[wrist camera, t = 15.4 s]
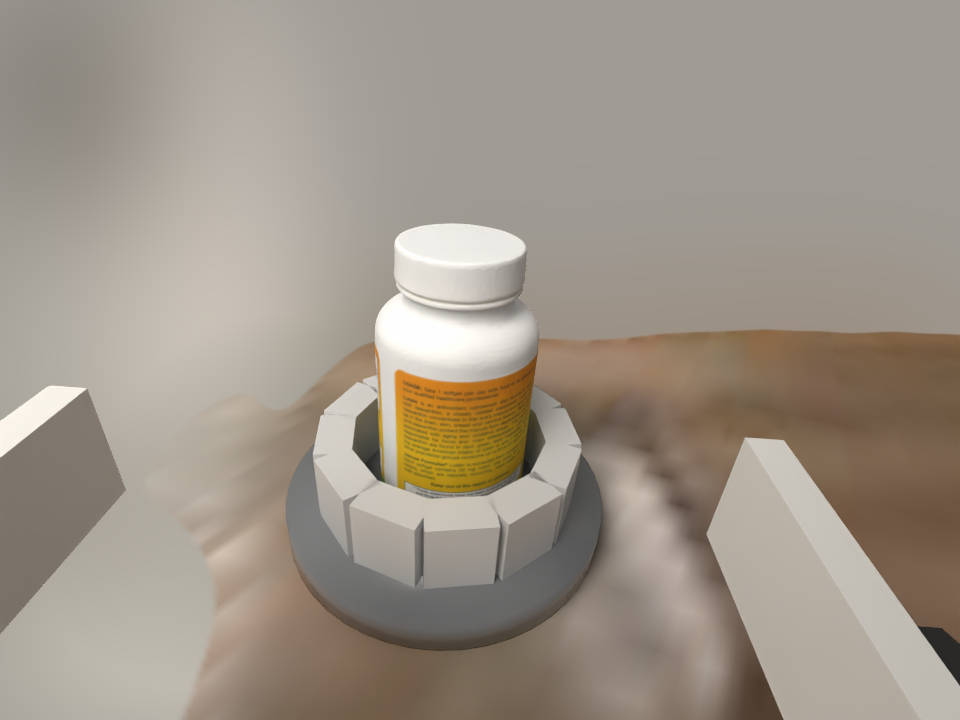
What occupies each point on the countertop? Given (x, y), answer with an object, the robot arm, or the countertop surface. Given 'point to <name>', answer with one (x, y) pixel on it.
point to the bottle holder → (441, 534)
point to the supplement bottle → (455, 362)
